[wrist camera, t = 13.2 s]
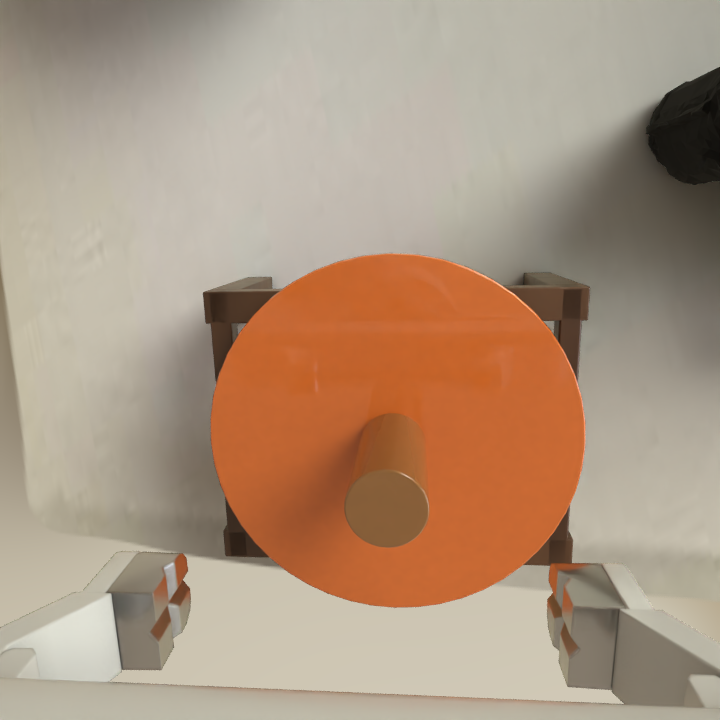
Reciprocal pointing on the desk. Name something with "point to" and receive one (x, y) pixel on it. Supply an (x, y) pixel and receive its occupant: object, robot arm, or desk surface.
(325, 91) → the desk surface
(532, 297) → the rack
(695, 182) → the film camera
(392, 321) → the lid
